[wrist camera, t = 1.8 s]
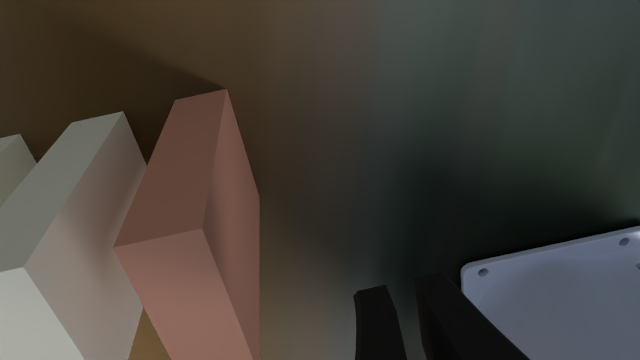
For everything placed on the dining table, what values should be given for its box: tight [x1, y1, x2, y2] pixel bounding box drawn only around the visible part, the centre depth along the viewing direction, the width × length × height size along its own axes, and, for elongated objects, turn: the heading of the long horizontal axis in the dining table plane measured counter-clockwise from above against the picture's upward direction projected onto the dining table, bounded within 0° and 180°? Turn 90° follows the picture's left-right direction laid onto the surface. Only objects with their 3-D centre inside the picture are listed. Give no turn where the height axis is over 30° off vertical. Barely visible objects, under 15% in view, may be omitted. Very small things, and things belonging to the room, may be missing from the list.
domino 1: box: [0, 111, 147, 360], centre depth 16 cm, size 2×5×9 cm, turn 11°
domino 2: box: [113, 89, 260, 360], centre depth 16 cm, size 2×5×9 cm, turn 11°
